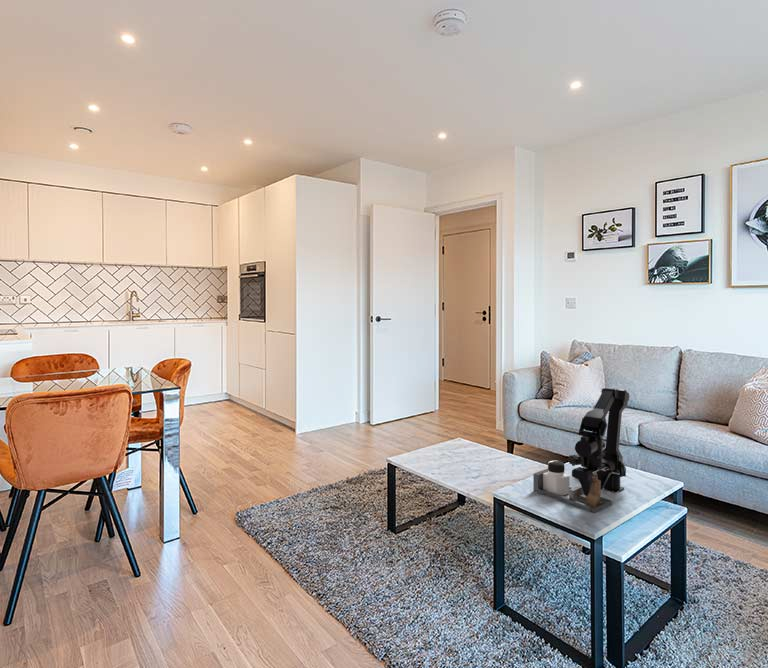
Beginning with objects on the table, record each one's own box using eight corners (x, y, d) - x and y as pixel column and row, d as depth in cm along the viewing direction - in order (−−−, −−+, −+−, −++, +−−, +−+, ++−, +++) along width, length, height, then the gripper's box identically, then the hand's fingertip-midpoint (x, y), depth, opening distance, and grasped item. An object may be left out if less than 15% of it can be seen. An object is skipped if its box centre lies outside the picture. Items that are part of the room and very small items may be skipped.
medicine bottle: (569, 493, 189) (570, 463, 188) (555, 497, 186) (556, 466, 185) (556, 487, 195) (556, 458, 194) (542, 490, 192) (542, 460, 191)
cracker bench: (551, 484, 199) (551, 467, 198) (612, 504, 178) (612, 485, 178) (533, 491, 192) (533, 473, 191) (594, 513, 171) (594, 493, 171)
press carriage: (582, 495, 186) (582, 470, 185) (604, 503, 179) (604, 477, 178) (569, 501, 181) (569, 475, 180) (591, 509, 174) (591, 482, 173)
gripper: (587, 440, 189) (587, 480, 190) (558, 450, 178) (558, 492, 179) (615, 447, 180) (615, 488, 181) (586, 457, 169) (586, 501, 170)
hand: (593, 492), depth 178 cm, fingers open, 9 cm apart
